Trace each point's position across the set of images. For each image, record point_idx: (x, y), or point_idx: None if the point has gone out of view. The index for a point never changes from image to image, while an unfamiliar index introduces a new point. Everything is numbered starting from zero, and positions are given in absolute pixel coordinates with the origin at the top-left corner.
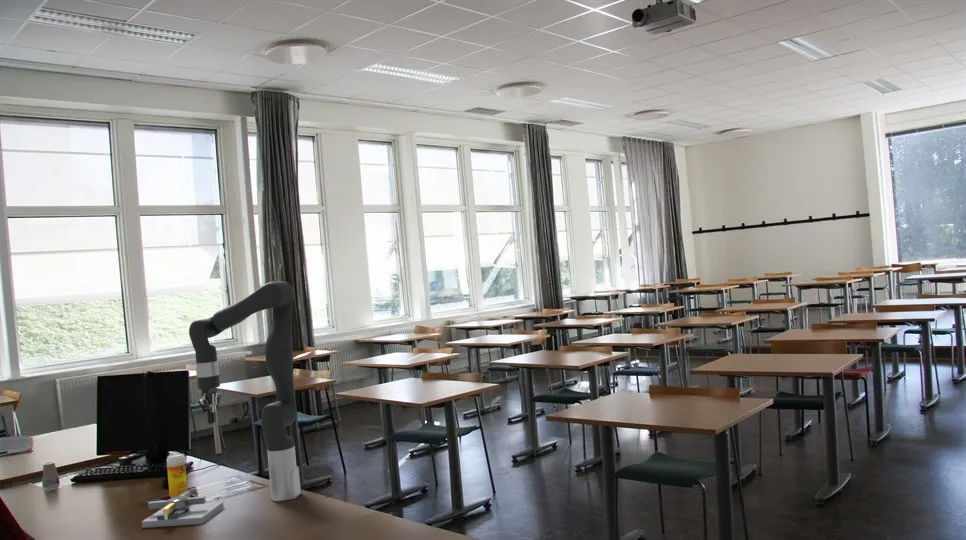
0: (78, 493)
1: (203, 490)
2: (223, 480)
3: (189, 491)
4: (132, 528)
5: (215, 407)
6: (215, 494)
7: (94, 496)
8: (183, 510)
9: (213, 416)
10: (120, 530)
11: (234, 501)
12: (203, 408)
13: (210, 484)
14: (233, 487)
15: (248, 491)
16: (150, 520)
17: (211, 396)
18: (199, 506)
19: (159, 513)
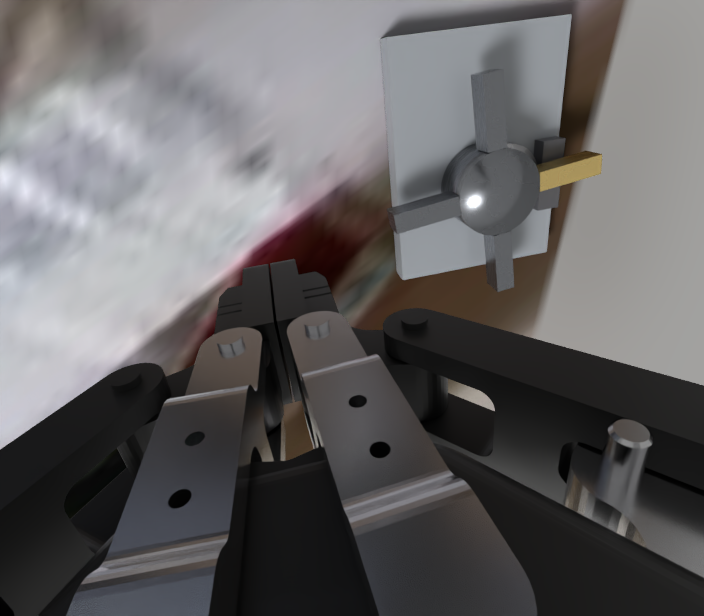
0: None
1: (159, 301)
2: (8, 306)
3: (398, 213)
4: (531, 274)
5: (215, 372)
6: (205, 208)
7: None
8: (510, 143)
9: (301, 290)
10: (538, 299)
11: (297, 34)
12: (493, 422)
13: (77, 326)
14: (98, 181)
15: (146, 46)
16: (544, 227)
17: (501, 560)
18: (432, 127)
19: (481, 246)
